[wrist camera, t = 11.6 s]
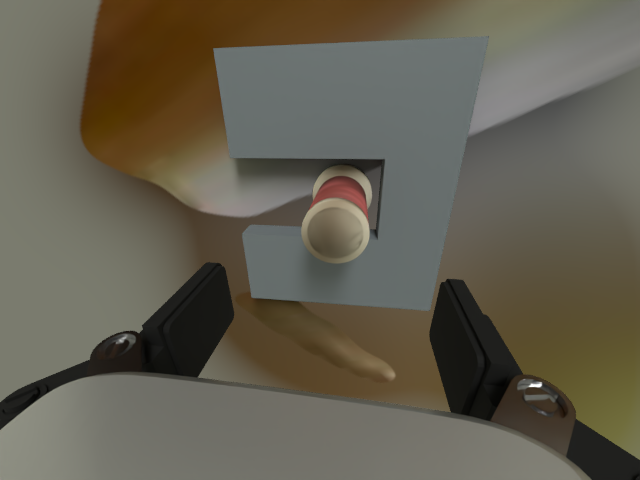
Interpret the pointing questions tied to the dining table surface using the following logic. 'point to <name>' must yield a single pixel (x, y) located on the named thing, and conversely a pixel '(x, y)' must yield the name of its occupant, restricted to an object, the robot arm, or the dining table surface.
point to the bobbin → (338, 215)
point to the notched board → (357, 154)
